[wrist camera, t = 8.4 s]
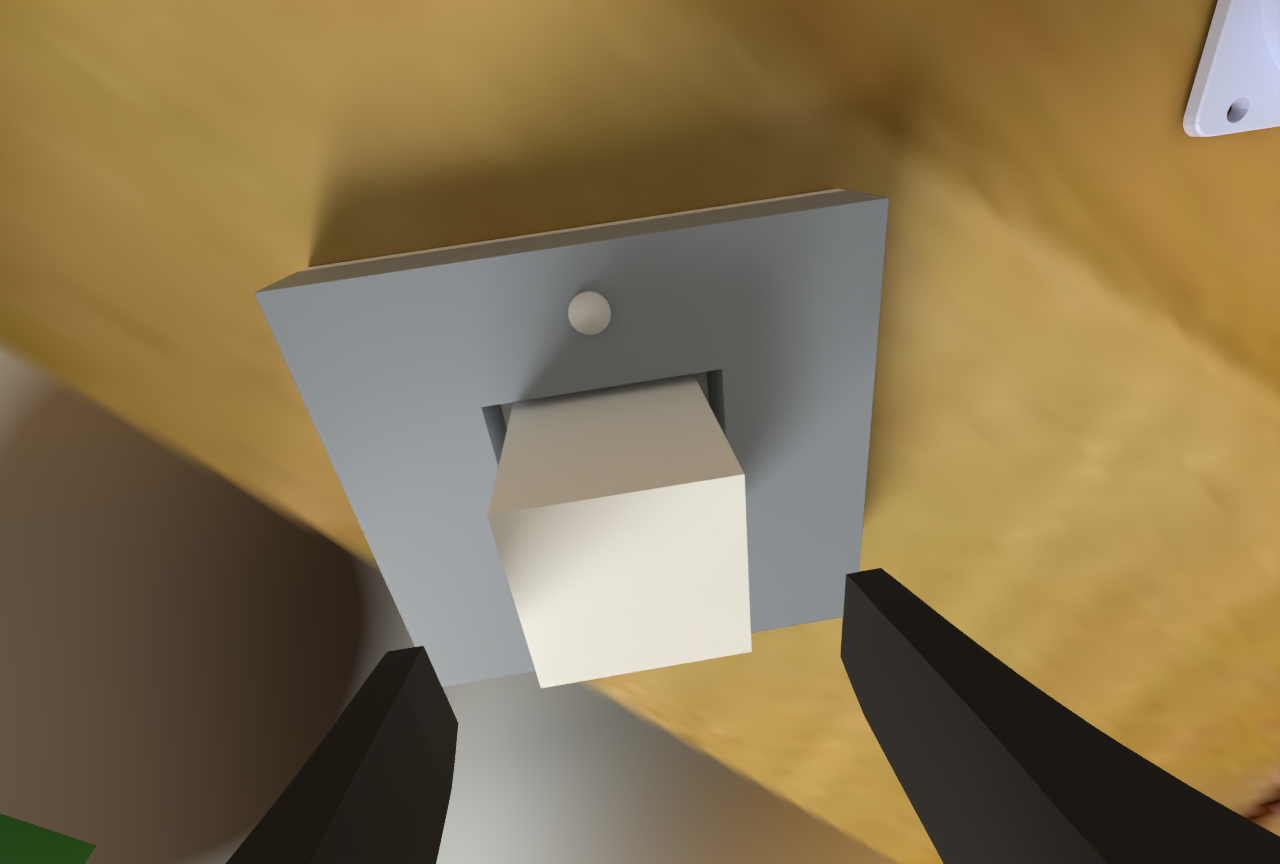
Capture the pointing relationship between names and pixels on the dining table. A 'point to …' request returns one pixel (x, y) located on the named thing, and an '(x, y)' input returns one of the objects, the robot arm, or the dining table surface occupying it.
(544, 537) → the block
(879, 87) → the dining table surface
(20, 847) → the hardback book
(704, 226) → the outlet box
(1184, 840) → the robot arm
